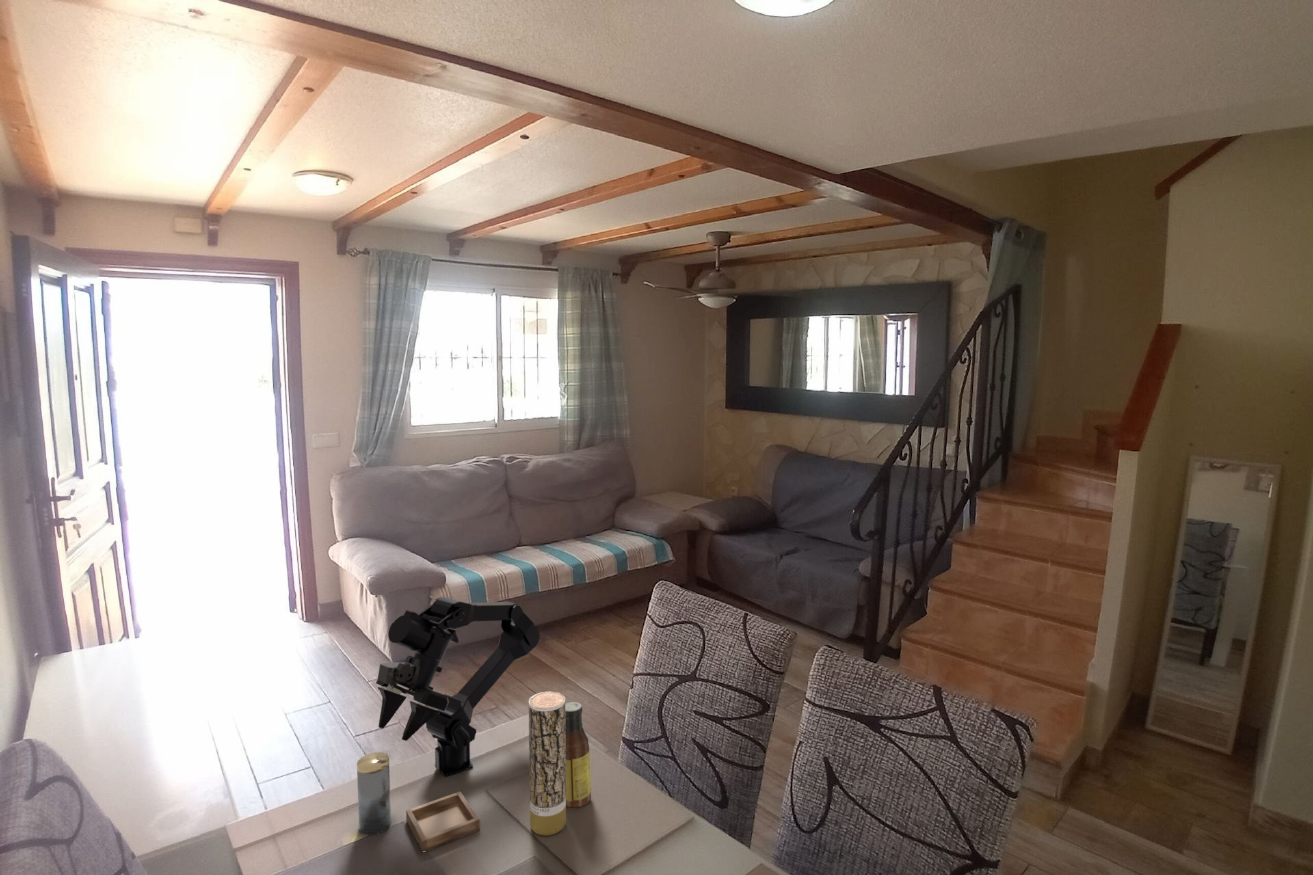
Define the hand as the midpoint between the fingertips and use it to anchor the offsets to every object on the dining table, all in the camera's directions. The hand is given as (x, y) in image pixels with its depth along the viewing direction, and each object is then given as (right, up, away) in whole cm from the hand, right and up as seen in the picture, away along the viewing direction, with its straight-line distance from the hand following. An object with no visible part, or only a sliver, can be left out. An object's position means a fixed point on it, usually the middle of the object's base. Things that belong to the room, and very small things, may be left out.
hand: (392, 733), depth 134 cm
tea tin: (-1, -15, -6) cm, 16 cm away
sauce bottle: (+36, -14, +2) cm, 39 cm away
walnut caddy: (+12, -15, -6) cm, 20 cm away
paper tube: (+32, -15, -6) cm, 36 cm away
